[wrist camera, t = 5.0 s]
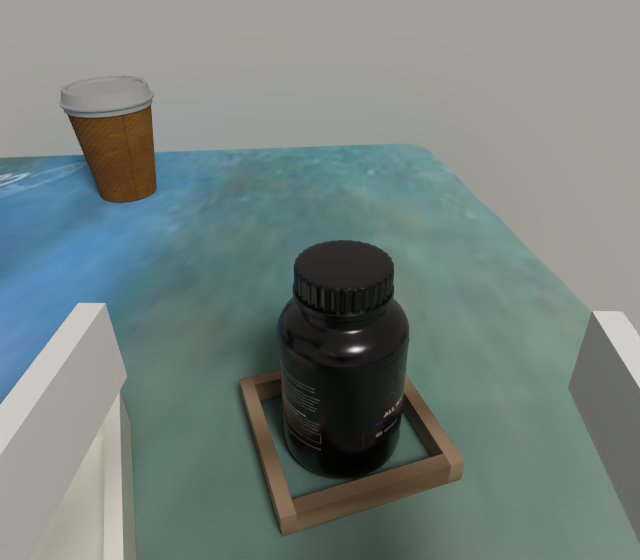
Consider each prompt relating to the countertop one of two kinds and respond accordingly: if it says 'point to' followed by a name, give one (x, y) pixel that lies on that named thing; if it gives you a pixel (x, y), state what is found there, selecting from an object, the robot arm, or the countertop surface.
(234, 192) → the countertop surface
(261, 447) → the walnut collar
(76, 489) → the cream tray
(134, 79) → the disposable coffee cup
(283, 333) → the supplement bottle
